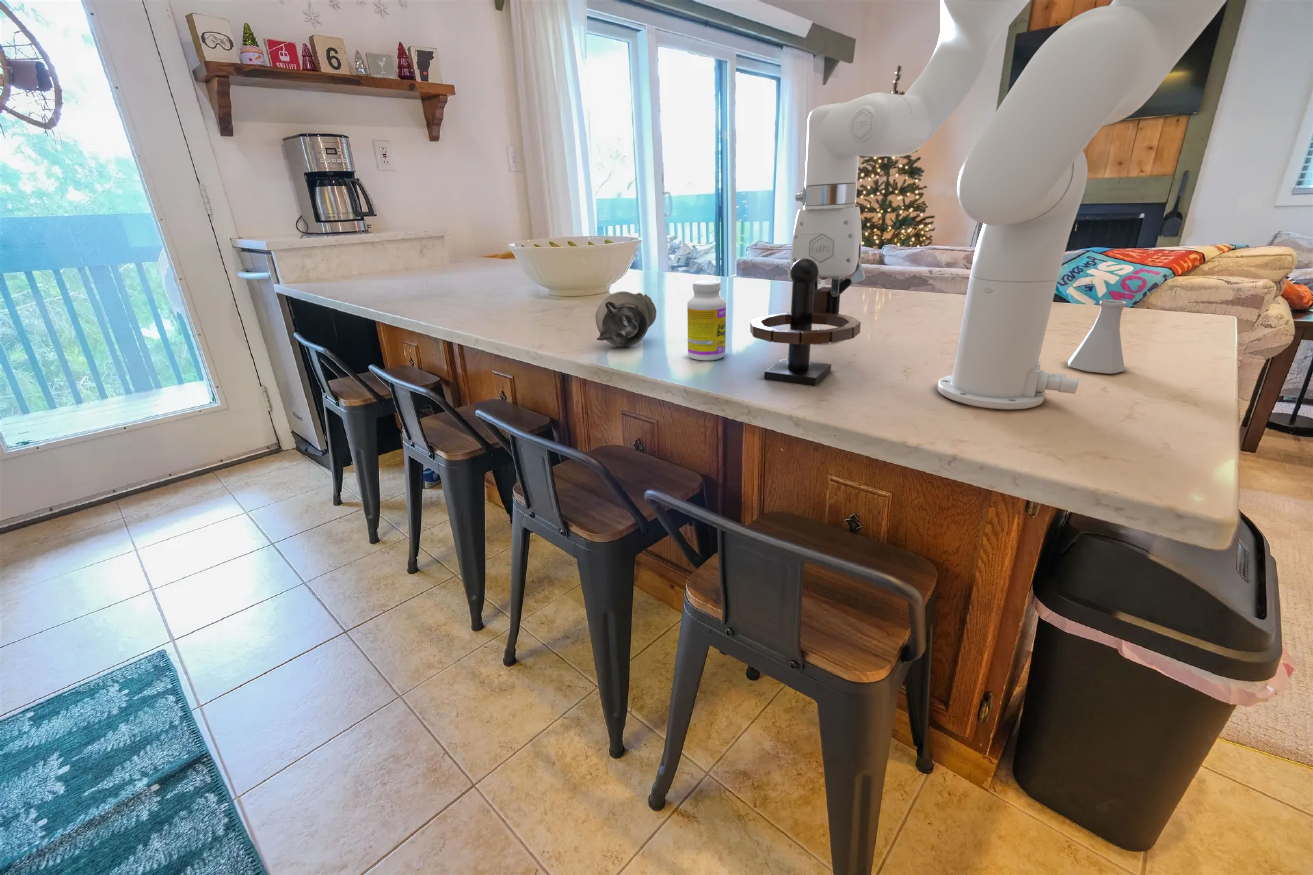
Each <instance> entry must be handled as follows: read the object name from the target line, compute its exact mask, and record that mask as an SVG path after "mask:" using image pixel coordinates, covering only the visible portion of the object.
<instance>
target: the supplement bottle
mask: <svg viewBox="0 0 1313 875" xmlns="http://www.w3.org/2000/svg"><path fill="white" fill-rule="evenodd" d="M721 283H722V282H721V281H718V280H696V281H693V283H692V290H693V296H692V297H690V298H689V299H688V301H687V304H686V305H687V308H686V311H687V355H688V356H689V358H691V359H692V360H697V361H715V360H716V361H717V360H719V359H722V358H723V357H724V356H725V354H726V340H727V337H726V336H727V335H726V334H727V333H726V332H727V331H726V330H727V302H726V300H725V298H724V297H722V296H721V295H720V291H721Z"/></svg>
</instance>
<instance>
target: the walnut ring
mask: <svg viewBox="0 0 1313 875" xmlns="http://www.w3.org/2000/svg"><path fill="white" fill-rule="evenodd" d="M830 292H831V286H825V287H821V286H820V287H818V289H817V290H815V291H814V303H813V317H812V325H818V324H822V326H823V325H825V326H832V328H827V329H822V330H818V329H812V330H806V331H798V330H790V329H780V328H776V327H778V326H783V325H790V318H791V312H778V313H772V314H767V315H766V314H765V315H762V316H758V317H757V318H754V319H752V320H751V321H750V323H749V324H750V325H749V332H750V333H751V335H752V337H753V338H755V339H759V340H762V341H766V342H770V343H772V342H773V343H776V344H777V343H779V344H788V345H789V344H800V343H801V344H811V345H826V344H825V343H827V344H835V343H838V342H843V341H844V342H845V341H848V340H852V339H854V338H856V337H857V336H859V335H860V334H861V326H862V325H861V324H862V322H861V321H860V320H859V319H858V318H856V317H854V316H852V315H846V314H842V313H841V314H840V313H839V314H835V313H827V299H828V297H829V296H830ZM829 342H830V343H829Z"/></svg>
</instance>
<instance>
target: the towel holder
mask: <svg viewBox="0 0 1313 875" xmlns="http://www.w3.org/2000/svg"><path fill="white" fill-rule="evenodd" d="M818 273H819V271H818V266H817V265H816V263H815V262H814V261H812V260H811V259H806V258H804V259H800V260H798V261H796V262H795V263H794V264H793V266H792V268H791V271H790V277H791V280H792V281H793V282H792V281H791V282H792V283H791V284H792V285H791V302H790V313H791V318H790V324H789V330H798V331H806V330H813V329H812V328H813V324H812V317H813V303H814V289H815V281H816V279H817V277H818ZM811 345H812V344H801V343H800V344H788V353H787V356H788V357H787V358H782V359H780V360H778V361H777V362H776V363H774V364H773V365H772V366H770V367H769V368H767V369H766V370H765V371H764V373H763V379H764V380H769V381H776V382H777V381H778V382H785V383H791V384H792V383H793V384H799V385H805V386H806V385H807V386H814V387H815V386H817V385H818V384H819V383H820V382H821V381H822V380H823V379H824V378H825V377H826V376H828V374H830V373H831V372H832V364H831V363H824V362H815V361H810V358H811Z"/></svg>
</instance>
